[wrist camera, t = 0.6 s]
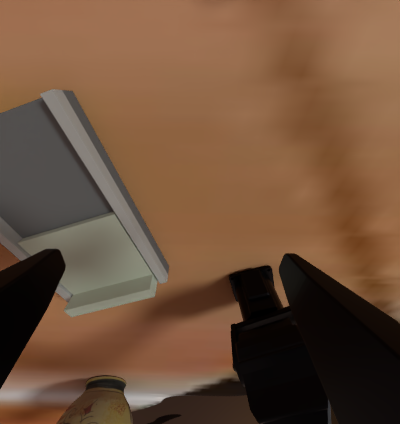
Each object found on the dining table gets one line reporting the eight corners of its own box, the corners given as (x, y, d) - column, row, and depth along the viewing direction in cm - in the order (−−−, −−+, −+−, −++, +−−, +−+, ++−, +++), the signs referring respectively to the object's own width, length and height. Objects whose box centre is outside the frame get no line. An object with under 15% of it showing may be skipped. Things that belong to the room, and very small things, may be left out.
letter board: (168, 266, 27) (167, 281, 24) (81, 289, 28) (72, 305, 26) (72, 91, 16) (52, 89, 13) (-66, 142, 17) (-106, 149, 14)
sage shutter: (158, 276, 25) (154, 296, 23) (82, 296, 26) (71, 317, 24) (116, 210, 20) (106, 227, 17) (23, 238, 21) (0, 257, 18)
